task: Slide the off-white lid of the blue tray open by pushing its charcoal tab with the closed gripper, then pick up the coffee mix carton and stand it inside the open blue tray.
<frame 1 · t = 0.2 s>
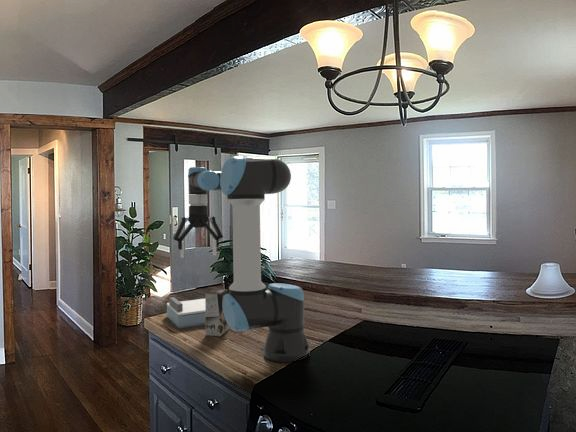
hand: (198, 256, 180), 28 cm above the counter, tool pointing down, fingers open, 13 cm apart
coffee box: (217, 332, 168), on the counter
lid: (195, 302, 186), point 7 cm above the counter, slide at 0.0 cm
blue tray: (195, 319, 187), on the counter
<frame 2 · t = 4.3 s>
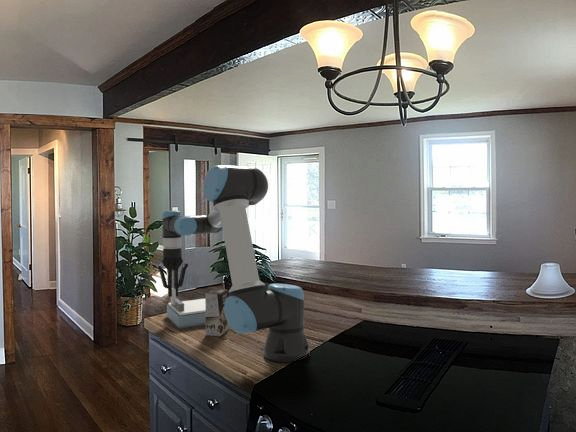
hand: (173, 303, 182), 8 cm above the counter, tool pointing down, fingers closed
lid: (197, 302, 187), point 7 cm above the counter, slide at 0.7 cm, touching gripper
everything else where it was.
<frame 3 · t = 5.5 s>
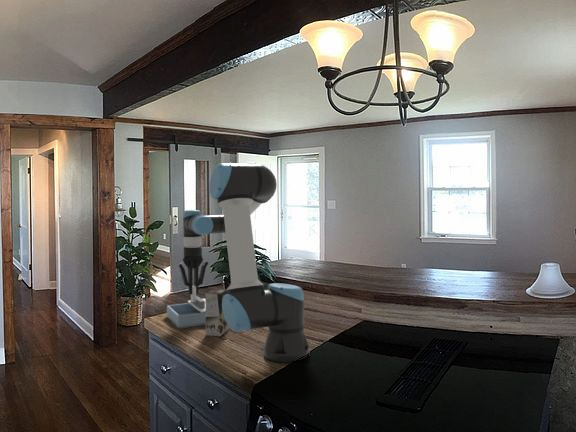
hand: (193, 301, 186), 8 cm above the counter, tool pointing down, fingers closed
lid: (216, 300, 191), point 7 cm above the counter, slide at 9.3 cm, touching gripper
everything else where it was.
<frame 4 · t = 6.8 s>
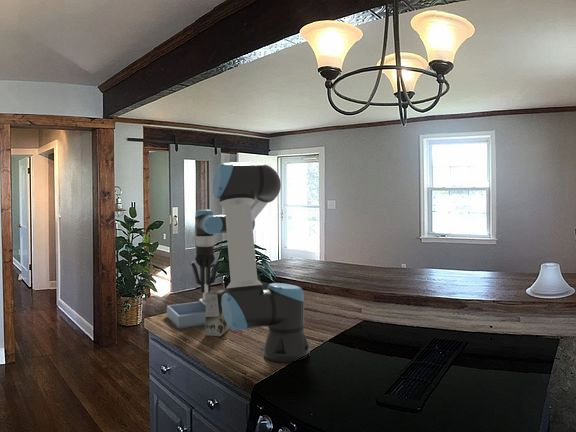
hand: (205, 299, 188), 8 cm above the counter, tool pointing down, fingers closed
lid: (227, 298, 193), point 7 cm above the counter, slide at 14.6 cm, touching gripper
everything else where it was.
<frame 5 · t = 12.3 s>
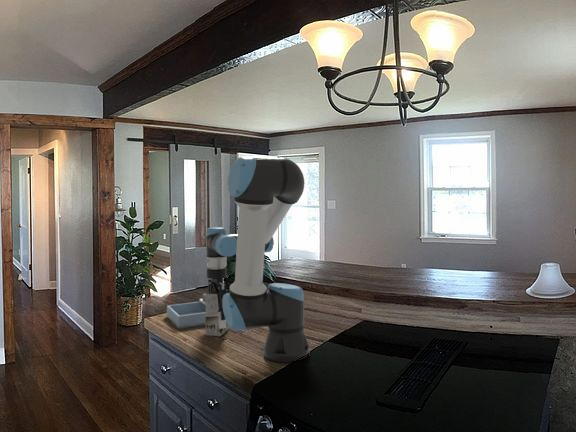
hand: (217, 324, 168), 3 cm above the counter, tool pointing down, fingers closed on coffee box, 10 cm apart
coffee box: (217, 332, 168), on the counter, touching gripper
lid: (228, 298, 193), point 7 cm above the counter, slide at 14.7 cm
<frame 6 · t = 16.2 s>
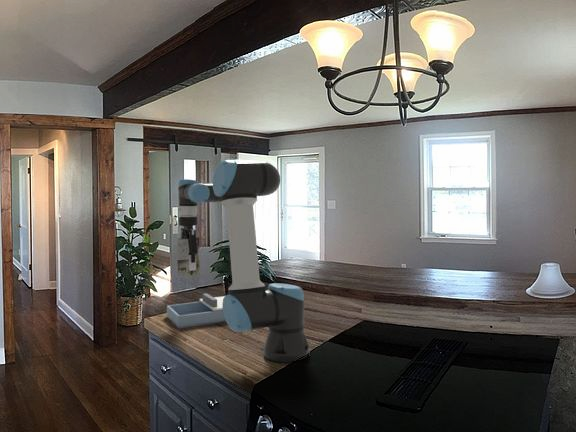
hand: (188, 268, 184), 22 cm above the counter, tool pointing down, fingers closed on coffee box, 10 cm apart
coffee box: (189, 276, 184), point 19 cm above the counter, touching gripper
everything else where it was.
when the fingers open (5 cm above the counter, at t = 20.0 s): coffee box drops 1 cm, resting on blue tray.
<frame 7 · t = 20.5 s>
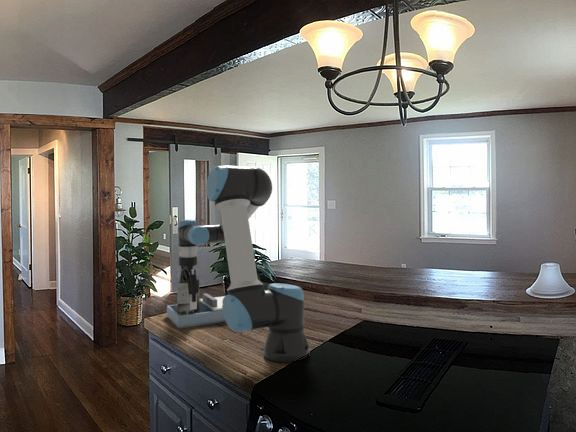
hand: (188, 305, 185), 6 cm above the counter, tool pointing down, fingers open, 13 cm apart
coffee box: (188, 318, 185), point 1 cm above the counter, touching blue tray
everything else where it was.
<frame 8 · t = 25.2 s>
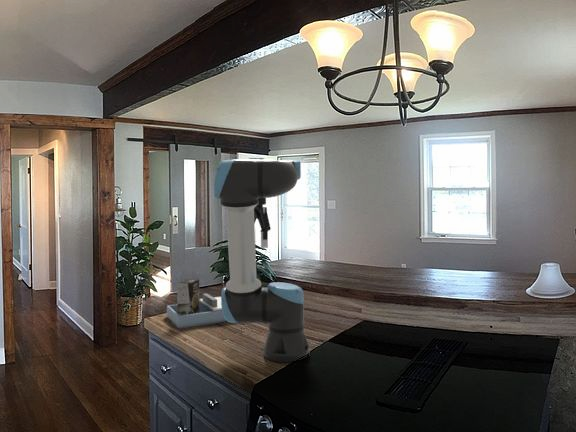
hand: (257, 246, 182), 32 cm above the counter, tool pointing down, fingers open, 13 cm apart
nothing on the counter moved.
at the end: lid slide at 14.7 cm; coffee box inside the target area on the blue tray (1.0 cm from its centre), point 0.6 cm above the blue tray's base; coffee box tilted 0° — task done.
